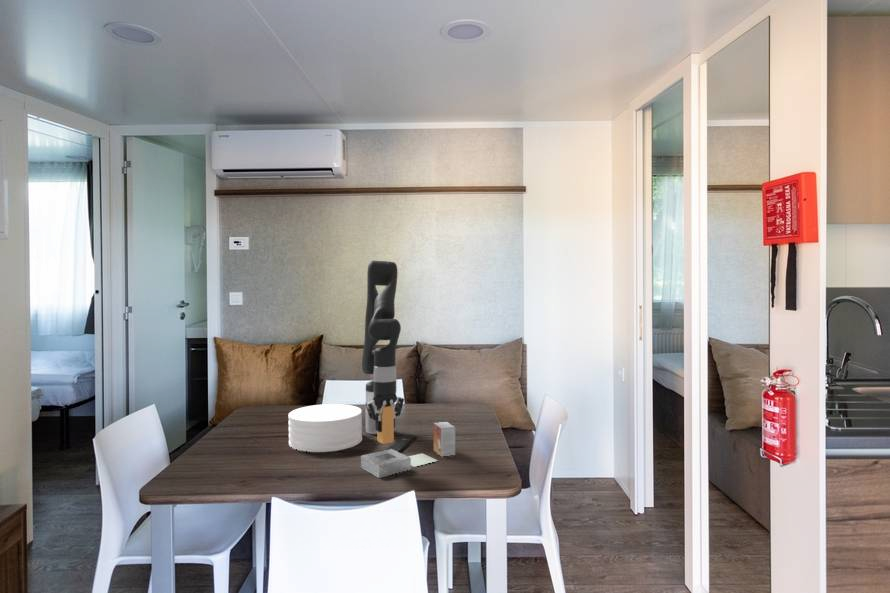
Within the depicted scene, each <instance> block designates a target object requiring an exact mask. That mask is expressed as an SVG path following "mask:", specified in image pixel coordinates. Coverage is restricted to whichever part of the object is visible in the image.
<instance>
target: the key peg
mask: <svg viewBox="0 0 890 593" xmlns="http://www.w3.org/2000/svg"><path fill="white" fill-rule="evenodd" d="M394 408H395V405H394V406H386V407H383V410H382V411H383V414H382V419H381V421H382V432H378V431H377V434H376V435H377V436H376V439H377V440H376V441H377V442H378V443H380V444H381V445H382V444H383V445H385V444H389V443H390V444H391V443H395V434H394V433H395V430H394V429H395V428H394ZM378 410H379V411H380V409H378Z"/></svg>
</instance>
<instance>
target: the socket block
mask: <svg viewBox="0 0 890 593" xmlns="http://www.w3.org/2000/svg"><path fill="white" fill-rule="evenodd" d="M408 456H409V455H406V454H403V453H401V452H400V453H399V452H397V451H395V450H393V449H389V450H387V449H385V450H382V451H376V452H372V453H368V454H367V453H366V454H363V455H360V468H361V469H362V470H365V471H367V472H368V473H370V474H371V475H373V476H375V477H377V478H378V479H379V478H385V477H388V476H391V475H392V474H393V475H395V473H397V474H400V473H403V471H404V472H407V470H408V471H411V470H412V466H411V458H410V457H408ZM399 472H400V473H399Z"/></svg>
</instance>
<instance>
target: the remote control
mask: <svg viewBox="0 0 890 593" xmlns="http://www.w3.org/2000/svg"><path fill="white" fill-rule="evenodd" d="M416 437H417V438H418V435H411V434H410V435H409V434H404V435H403V436H402V437H400V438H399V439H398V440H396V441H394V442H393V444H392V445H390V446H389V447H387V449H386V450H389V449H393V450H395V451H397V452H399V453H401V452H402V451H404V450H405V449H406V448H407V447H408V446H409V445H410V444H412V443H413V442H414V441H415V440H416V439H417V438H416ZM415 438H416V439H415ZM414 439H415V440H414ZM413 440H414V441H413ZM412 441H413V442H412ZM406 446H407V447H406ZM405 447H406V448H405ZM404 448H405V449H404Z"/></svg>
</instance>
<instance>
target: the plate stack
mask: <svg viewBox="0 0 890 593" xmlns="http://www.w3.org/2000/svg"><path fill="white" fill-rule="evenodd" d="M362 410H363V409H361V407H358V406H356V405H352V404H342V403H327V404H325V403H323V404H314V405H308V406H307V405H306V406H304V407H303V406H302V407H298V408H295V409H293V410H292V411H290V412H288V423H287V424H288V446H289V447H290V448H291V447H292V448H291V449H294V450H296V449H297V451H300V452H306V451H307V452H308V453H309V452H310V453H327V452H337V451H342V450H346V449H349V448H353V447H355V446H356V445H358V444H360V443H361V442H362V440H363V436H362V434H363V429H362V427H363V422H362V420H363V417H362V414H363V412H362Z"/></svg>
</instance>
